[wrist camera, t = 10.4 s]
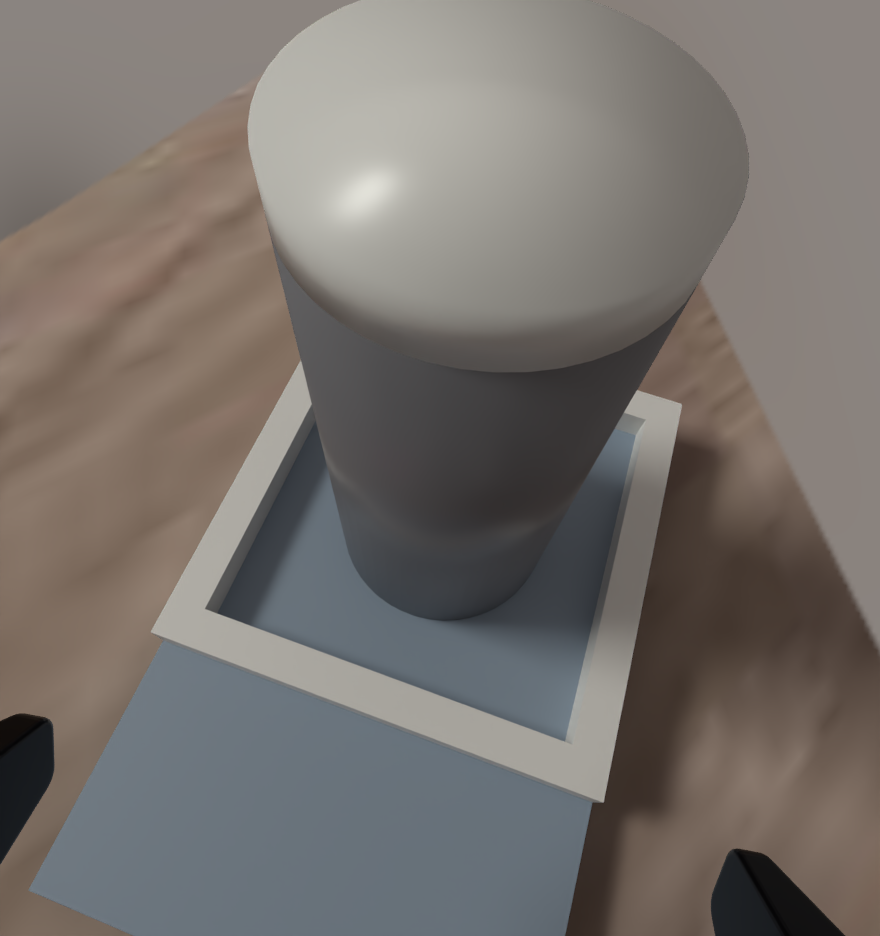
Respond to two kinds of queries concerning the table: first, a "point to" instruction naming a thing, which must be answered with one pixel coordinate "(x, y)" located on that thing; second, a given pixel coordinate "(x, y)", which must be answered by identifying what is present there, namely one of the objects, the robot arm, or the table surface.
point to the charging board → (366, 721)
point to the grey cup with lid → (482, 263)
